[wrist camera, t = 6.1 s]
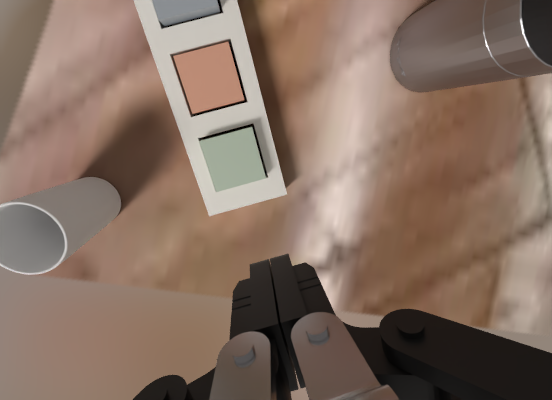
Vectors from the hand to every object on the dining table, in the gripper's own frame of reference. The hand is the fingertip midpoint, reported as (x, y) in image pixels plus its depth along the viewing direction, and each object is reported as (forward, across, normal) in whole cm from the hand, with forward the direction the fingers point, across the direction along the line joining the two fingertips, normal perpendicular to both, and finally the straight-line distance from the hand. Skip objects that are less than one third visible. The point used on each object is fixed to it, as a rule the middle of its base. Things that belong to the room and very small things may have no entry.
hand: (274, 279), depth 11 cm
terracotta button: (+26, +2, -11) cm, 28 cm away
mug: (+27, +22, -1) cm, 35 cm away
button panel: (+27, +2, -11) cm, 29 cm away
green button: (+25, +2, -2) cm, 25 cm away
